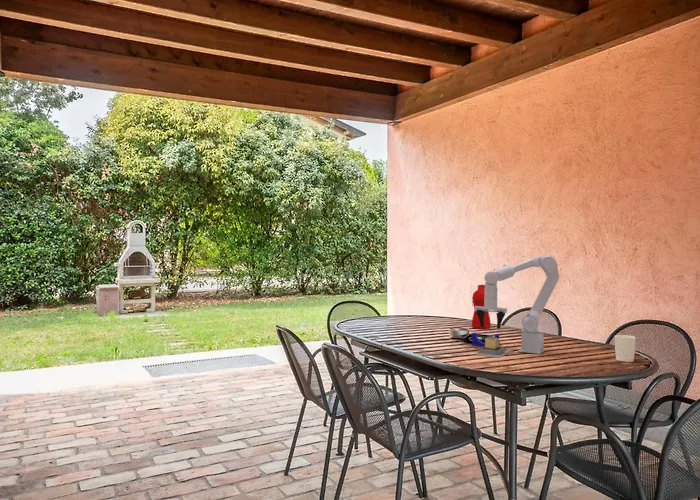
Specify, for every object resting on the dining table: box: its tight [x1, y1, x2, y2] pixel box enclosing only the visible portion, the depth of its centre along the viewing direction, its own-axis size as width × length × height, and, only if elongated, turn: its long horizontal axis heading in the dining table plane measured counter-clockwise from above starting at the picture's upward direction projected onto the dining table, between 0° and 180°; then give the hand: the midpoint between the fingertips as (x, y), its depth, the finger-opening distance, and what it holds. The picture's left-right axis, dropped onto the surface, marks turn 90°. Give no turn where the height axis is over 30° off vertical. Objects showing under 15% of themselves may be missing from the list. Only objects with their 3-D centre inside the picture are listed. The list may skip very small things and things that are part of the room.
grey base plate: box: [476, 346, 514, 359], centre depth 247 cm, size 10×18×3 cm, turn 146°
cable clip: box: [471, 332, 501, 348], centre depth 265 cm, size 12×4×6 cm, turn 66°
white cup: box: [614, 334, 636, 363], centre depth 235 cm, size 8×8×10 cm
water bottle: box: [471, 284, 491, 330], centre depth 324 cm, size 9×11×25 cm
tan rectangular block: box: [484, 337, 500, 350], centre depth 244 cm, size 4×4×6 cm
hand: (490, 327), depth 256 cm, fingers open, 7 cm apart
